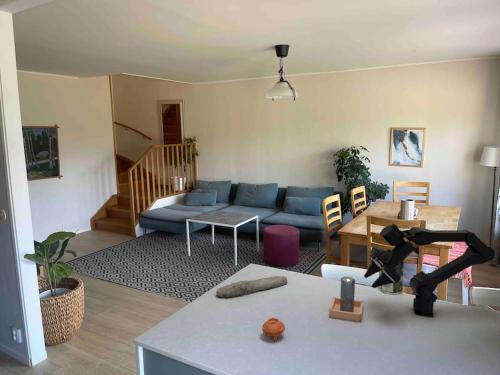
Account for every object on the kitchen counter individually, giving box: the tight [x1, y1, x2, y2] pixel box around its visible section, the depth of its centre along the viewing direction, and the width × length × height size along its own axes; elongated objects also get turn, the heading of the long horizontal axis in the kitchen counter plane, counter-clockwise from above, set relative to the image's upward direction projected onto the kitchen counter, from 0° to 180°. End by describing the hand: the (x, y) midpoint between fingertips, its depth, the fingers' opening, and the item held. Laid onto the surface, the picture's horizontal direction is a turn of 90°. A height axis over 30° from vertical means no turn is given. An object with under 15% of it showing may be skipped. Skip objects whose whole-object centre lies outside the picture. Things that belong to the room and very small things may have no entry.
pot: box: [261, 317, 286, 342], centre depth 129 cm, size 8×8×7 cm
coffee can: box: [377, 260, 405, 295], centre depth 164 cm, size 10×10×14 cm
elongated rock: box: [215, 275, 288, 298], centre depth 167 cm, size 35×5×10 cm
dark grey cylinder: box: [339, 276, 356, 313], centre depth 144 cm, size 5×5×13 cm
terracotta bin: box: [328, 296, 364, 323], centre depth 145 cm, size 12×12×3 cm
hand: (368, 282), depth 143 cm, fingers open, 9 cm apart
